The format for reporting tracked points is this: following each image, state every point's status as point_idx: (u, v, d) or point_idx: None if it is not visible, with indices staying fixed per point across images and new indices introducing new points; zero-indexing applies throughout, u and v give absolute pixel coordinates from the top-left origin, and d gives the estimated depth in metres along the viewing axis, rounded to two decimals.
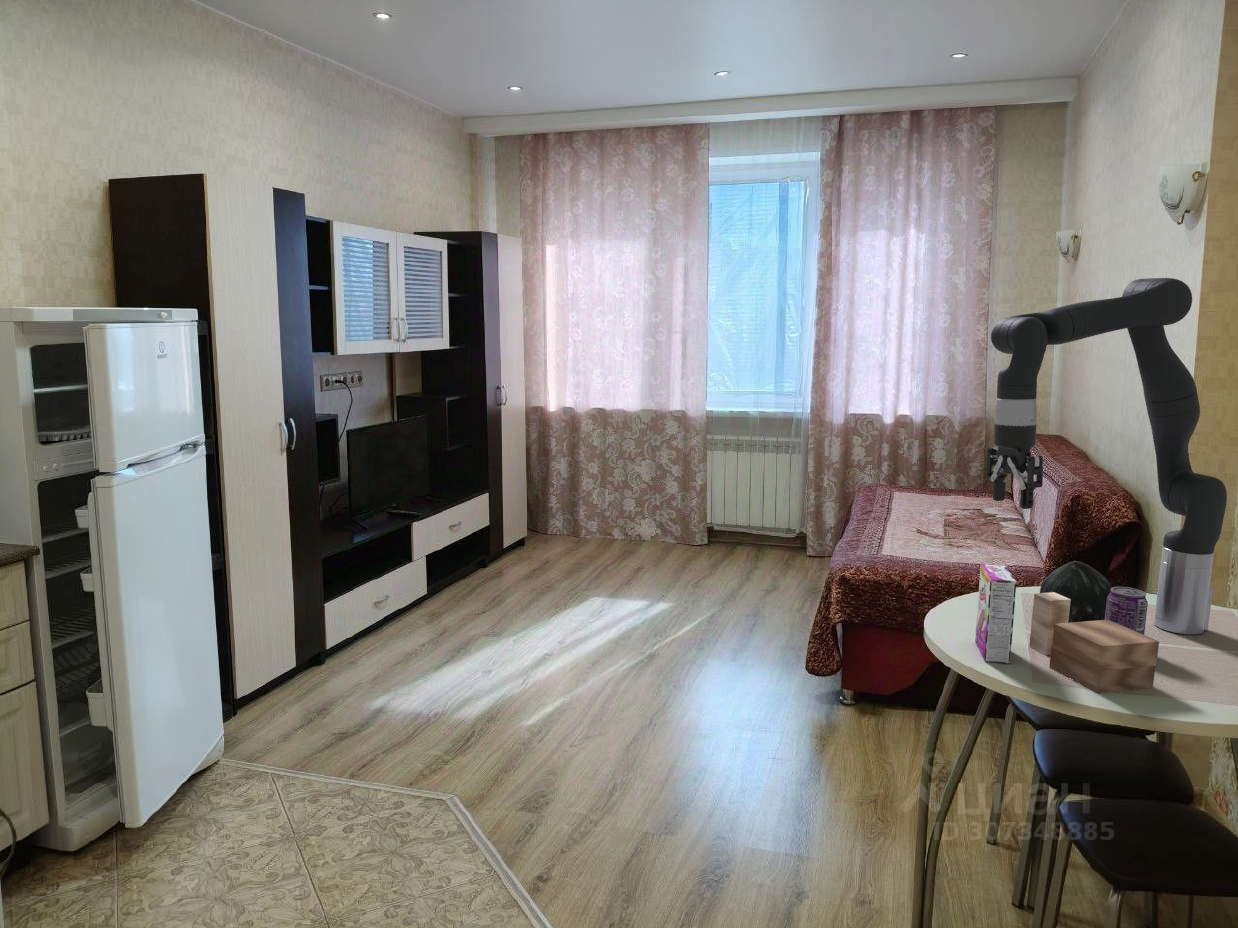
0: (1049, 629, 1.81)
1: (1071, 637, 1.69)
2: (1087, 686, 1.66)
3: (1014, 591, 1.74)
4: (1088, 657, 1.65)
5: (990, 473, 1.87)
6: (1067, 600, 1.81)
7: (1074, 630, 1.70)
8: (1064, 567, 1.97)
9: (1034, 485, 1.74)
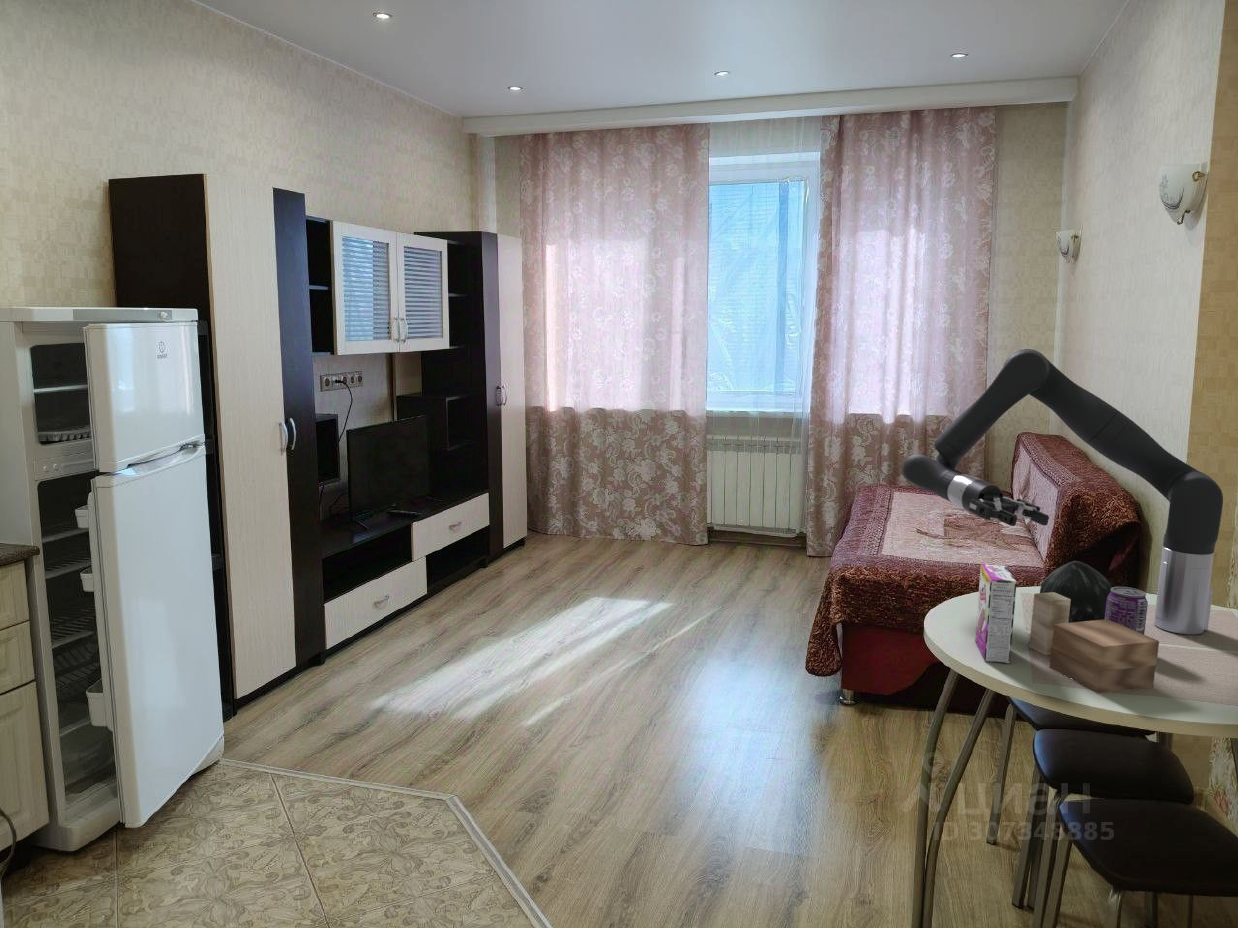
0: (1049, 629, 1.81)
1: (1071, 637, 1.69)
2: (1087, 686, 1.66)
3: (1014, 591, 1.74)
4: (1089, 657, 1.65)
5: None
6: (1067, 600, 1.81)
7: (1074, 630, 1.70)
8: (1064, 567, 1.97)
9: (986, 515, 1.90)
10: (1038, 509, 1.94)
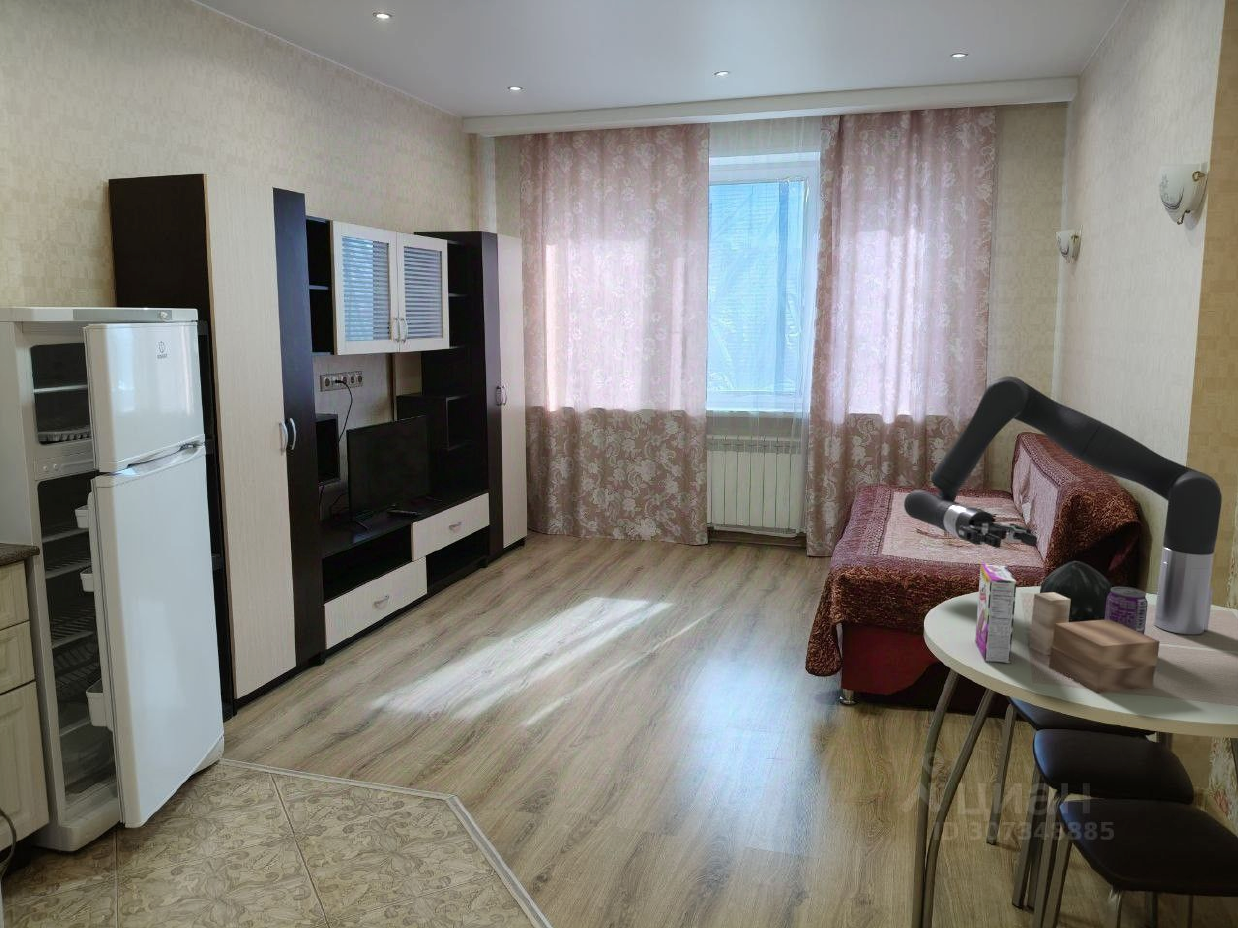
0: (1049, 629, 1.81)
1: (1071, 636, 1.69)
2: (1087, 686, 1.66)
3: (1014, 591, 1.74)
4: (1088, 657, 1.65)
5: None
6: (1067, 600, 1.81)
7: (1074, 630, 1.70)
8: (1064, 567, 1.97)
9: (972, 539, 1.95)
10: (1029, 531, 1.97)
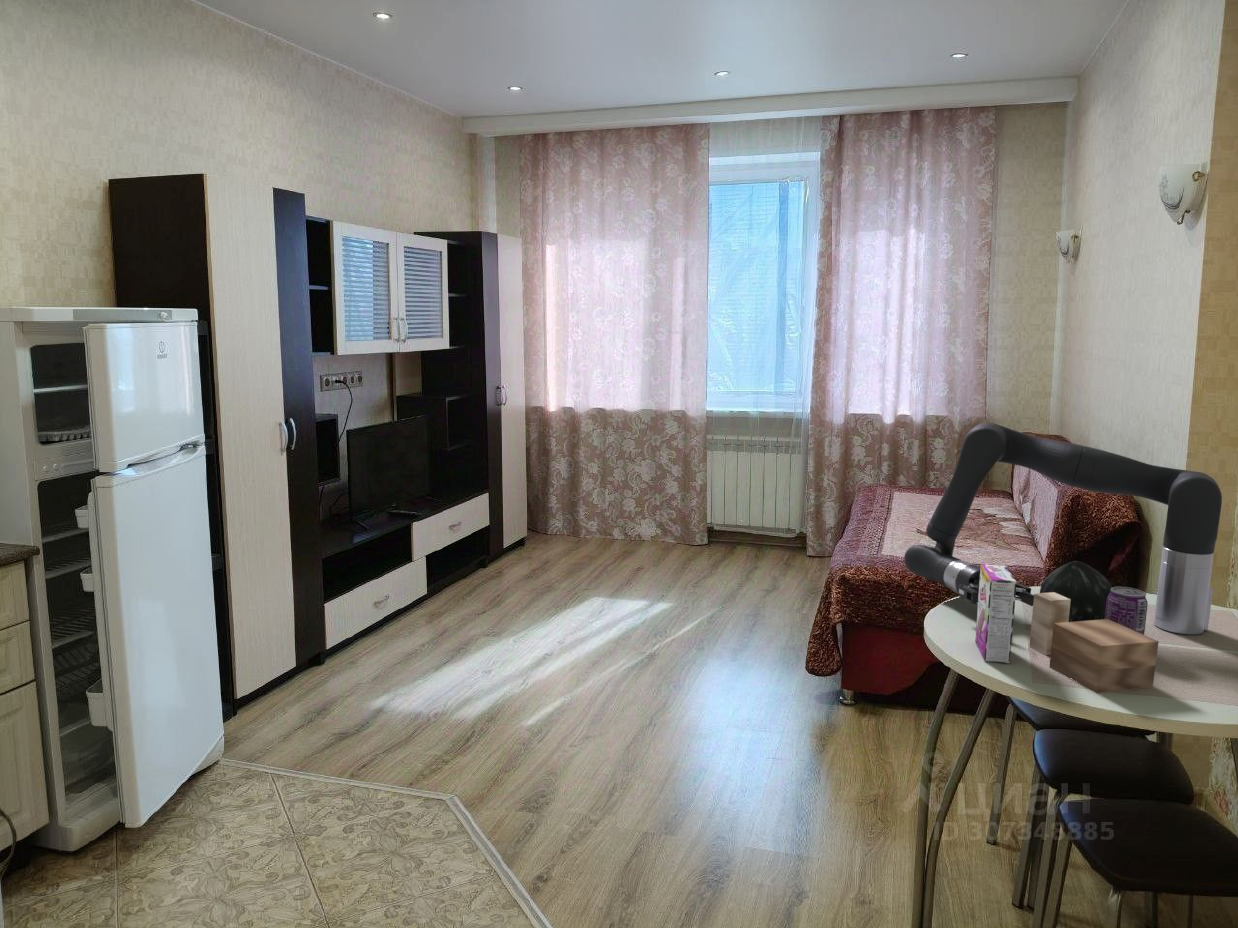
0: (1049, 629, 1.81)
1: (1070, 636, 1.69)
2: (1087, 686, 1.66)
3: (1014, 591, 1.74)
4: (1087, 656, 1.65)
5: None
6: (1067, 600, 1.81)
7: (1073, 629, 1.70)
8: (1064, 567, 1.97)
9: (972, 600, 1.95)
10: (1028, 590, 1.98)
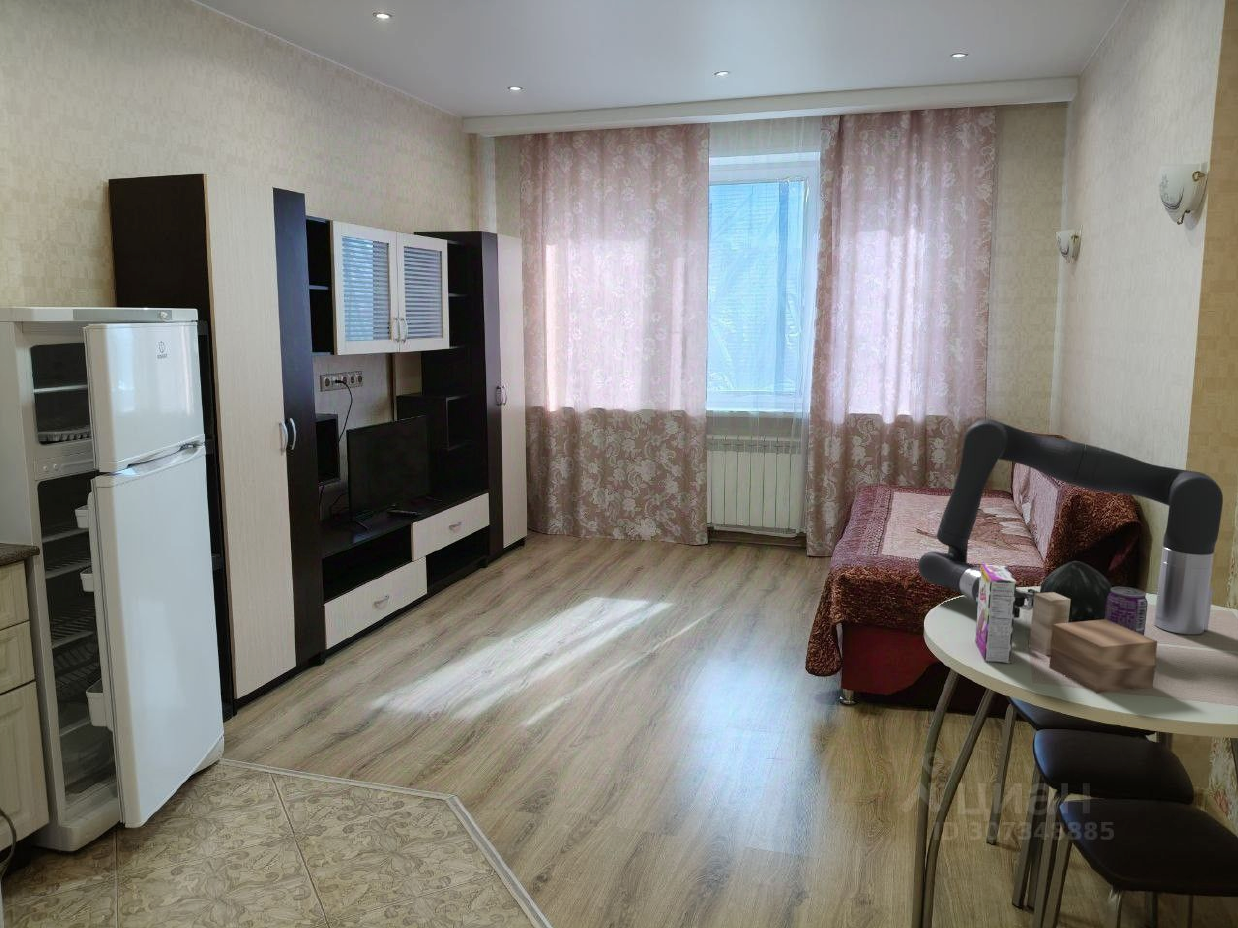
0: (1049, 629, 1.81)
1: (1070, 637, 1.69)
2: (1087, 686, 1.66)
3: (1014, 591, 1.74)
4: (1087, 657, 1.65)
5: None
6: (1067, 600, 1.81)
7: (1072, 630, 1.70)
8: (1064, 567, 1.97)
9: None
10: None
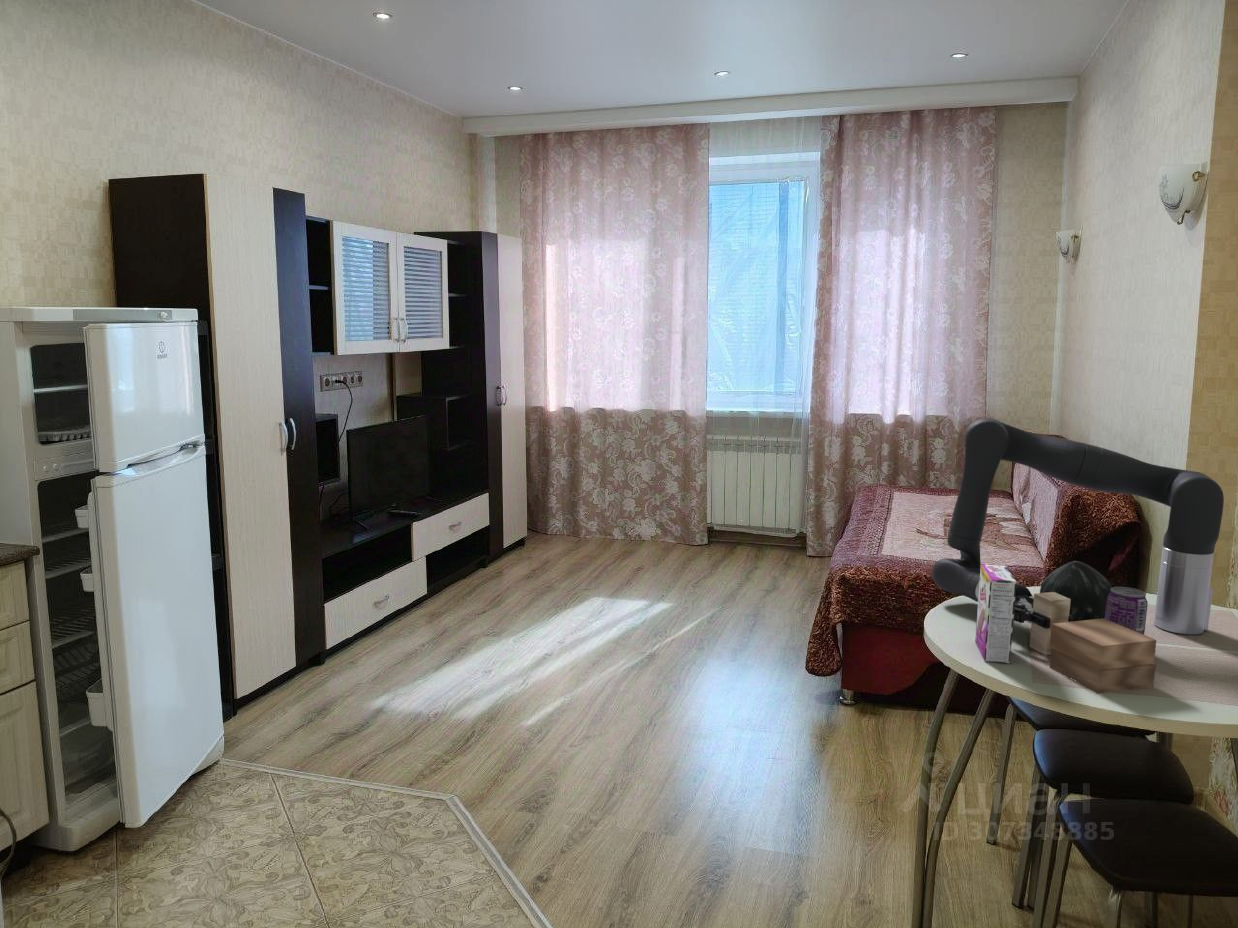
0: (1049, 629, 1.81)
1: (1069, 637, 1.70)
2: (1088, 686, 1.66)
3: (1014, 591, 1.74)
4: (1087, 657, 1.66)
5: None
6: (1067, 600, 1.81)
7: (1072, 630, 1.70)
8: (1064, 567, 1.97)
9: (1019, 618, 1.84)
10: None
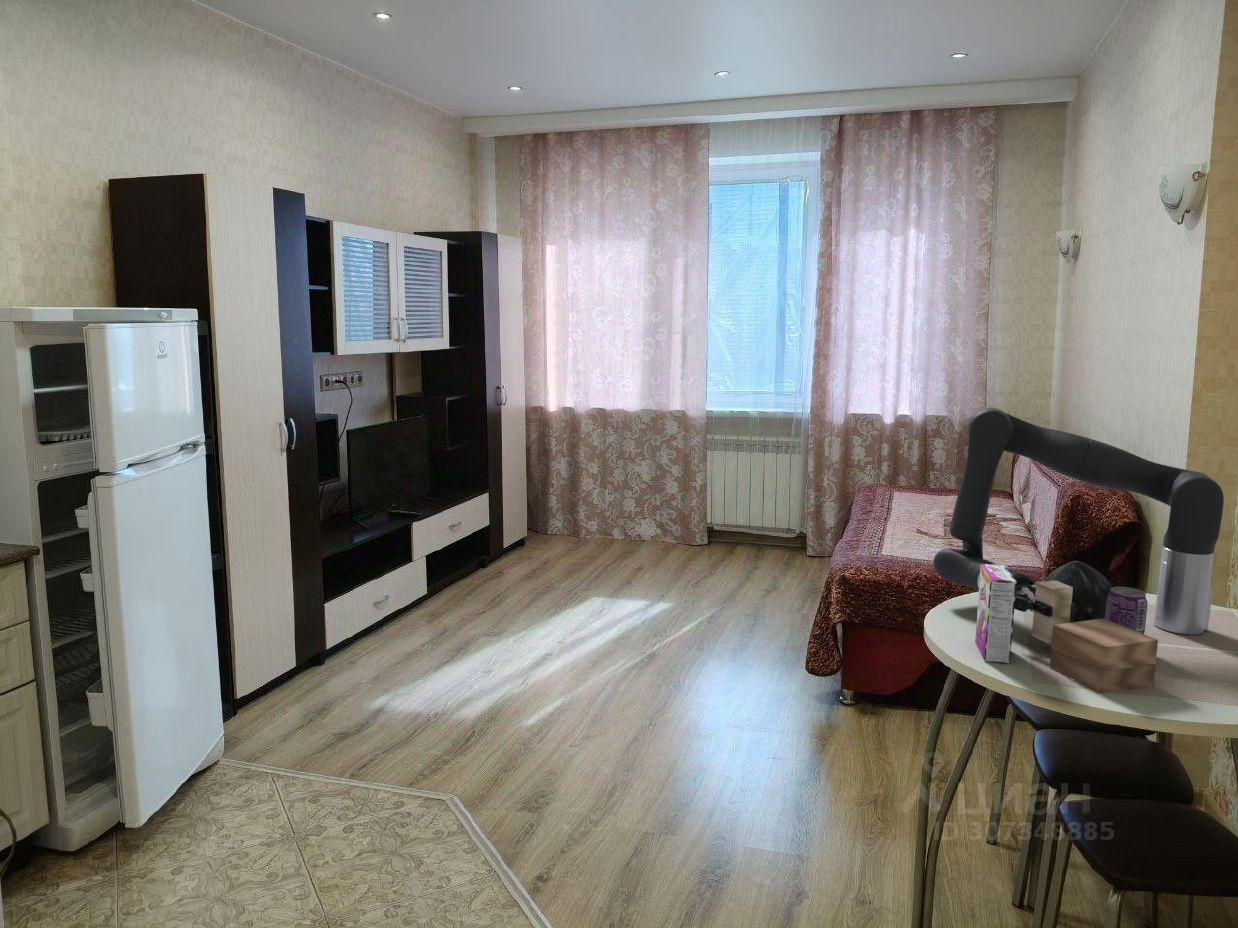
0: (1052, 617, 1.80)
1: (1072, 638, 1.69)
2: (1088, 687, 1.66)
3: (1014, 591, 1.74)
4: (1091, 658, 1.65)
5: None
6: (1069, 588, 1.80)
7: (1074, 631, 1.70)
8: (1064, 567, 1.98)
9: (1021, 607, 1.83)
10: None
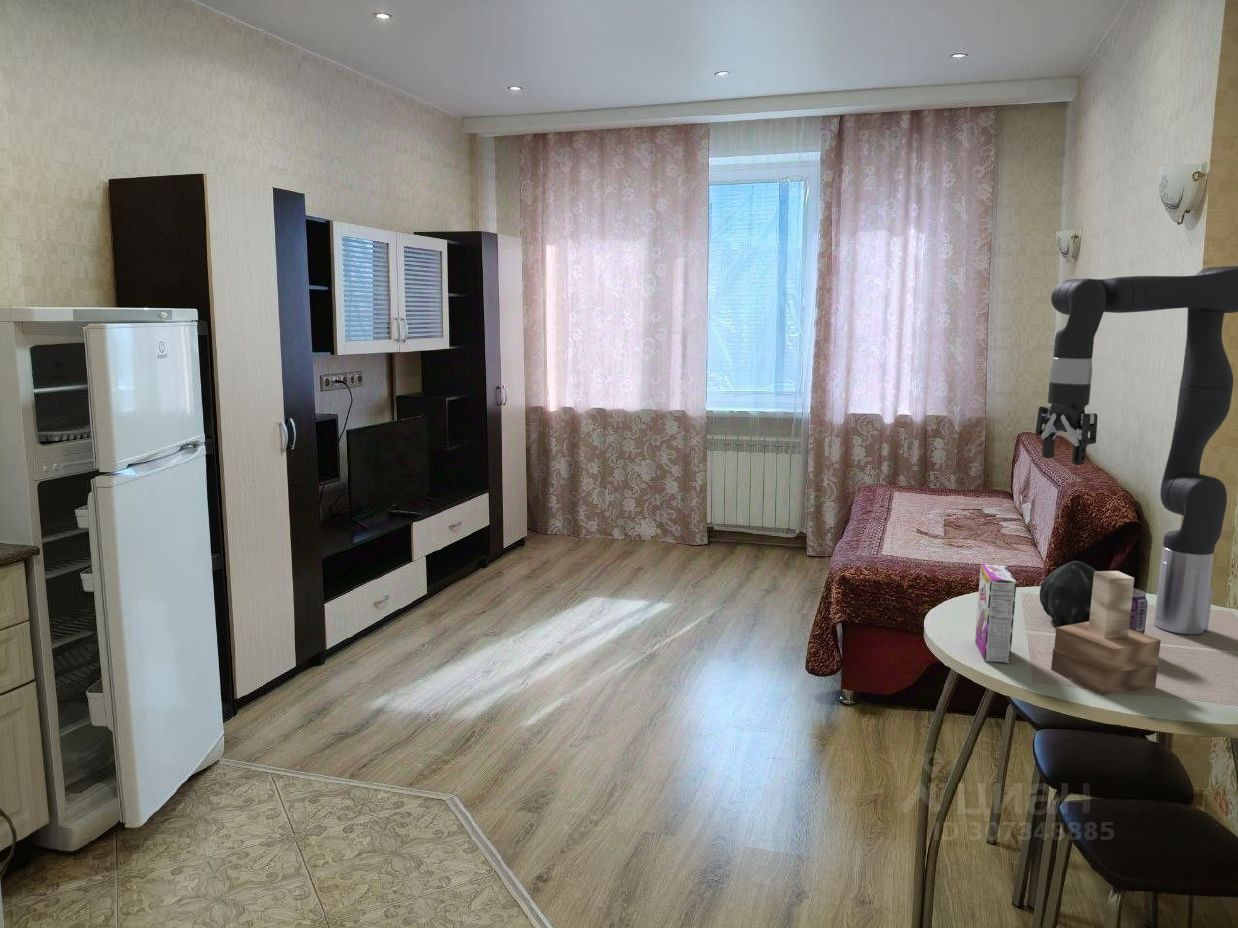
0: (1109, 610, 1.66)
1: (1076, 640, 1.68)
2: (1091, 688, 1.65)
3: (1014, 591, 1.74)
4: (1097, 660, 1.64)
5: (1040, 431, 1.93)
6: (1130, 579, 1.65)
7: (1078, 633, 1.69)
8: (1064, 567, 1.97)
9: (1088, 441, 1.81)
10: None
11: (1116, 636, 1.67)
